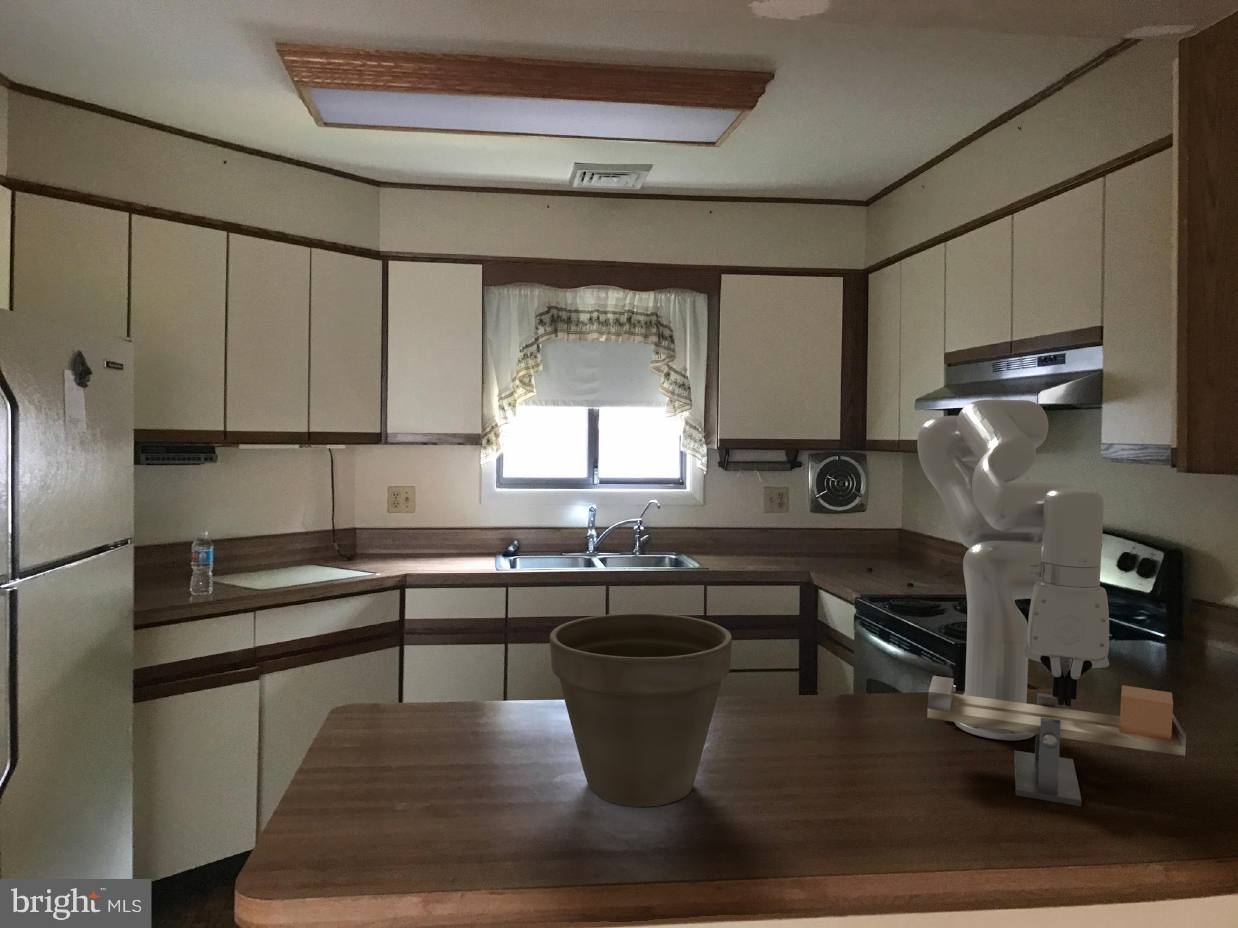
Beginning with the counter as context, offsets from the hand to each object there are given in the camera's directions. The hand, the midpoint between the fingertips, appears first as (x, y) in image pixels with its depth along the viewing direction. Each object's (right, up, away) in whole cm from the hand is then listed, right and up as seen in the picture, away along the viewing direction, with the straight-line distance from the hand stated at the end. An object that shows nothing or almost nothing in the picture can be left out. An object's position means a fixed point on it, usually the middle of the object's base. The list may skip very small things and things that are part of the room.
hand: (1063, 702), depth 125 cm
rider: (+9, -4, -4) cm, 11 cm away
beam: (-2, -3, +1) cm, 4 cm away
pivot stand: (-2, -11, +1) cm, 12 cm away
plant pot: (-61, -11, -4) cm, 62 cm away
